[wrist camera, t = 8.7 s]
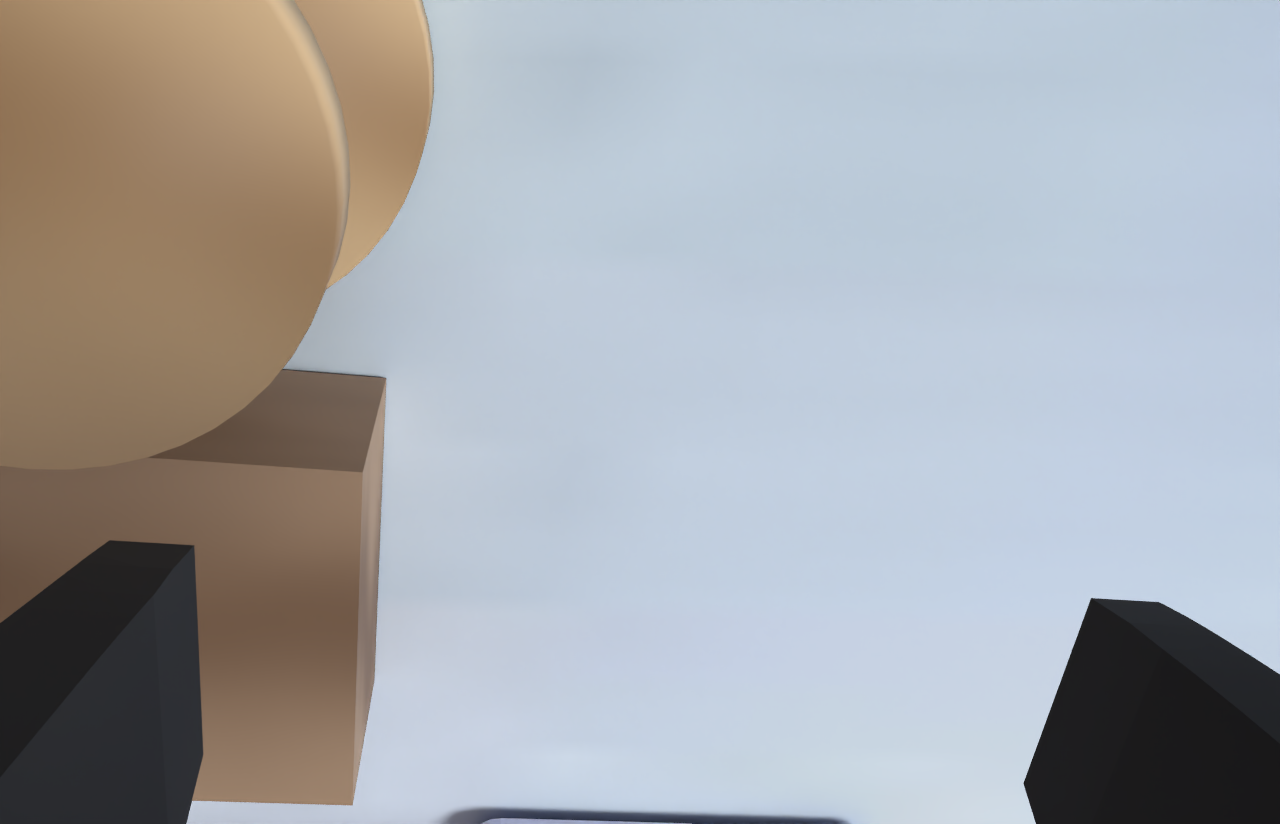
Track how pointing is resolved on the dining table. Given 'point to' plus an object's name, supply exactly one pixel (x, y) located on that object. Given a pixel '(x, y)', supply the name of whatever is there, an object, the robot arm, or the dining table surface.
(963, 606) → the dining table surface
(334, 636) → the block with rectangular opening
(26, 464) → the spool
